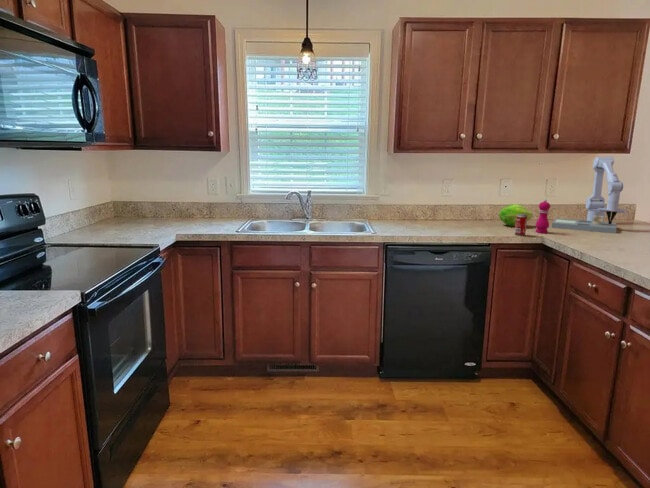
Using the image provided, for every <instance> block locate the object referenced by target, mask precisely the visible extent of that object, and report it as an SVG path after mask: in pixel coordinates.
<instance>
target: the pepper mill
mask: <svg viewBox="0 0 650 488" xmlns="http://www.w3.org/2000/svg"><path fill="white" fill-rule="evenodd" d="M538 208H539V211H538V213H539V217H538V218H537V221H536V222H535V228H536V229H535V233H536V232H537V234H548V228H549V227H550V222H549V219H548V214H549V209H551V204H550V203H549V202H548V201H547V199H543V201H542V202H540V203H539V204H538Z"/></svg>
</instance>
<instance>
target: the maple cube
mask: <svg viewBox="0 0 650 488" xmlns="http://www.w3.org/2000/svg"><path fill="white" fill-rule="evenodd" d="M602 222H603V216H596V215H594V217H593V224H595V225H602Z"/></svg>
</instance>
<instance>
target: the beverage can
mask: <svg viewBox="0 0 650 488" xmlns="http://www.w3.org/2000/svg"><path fill="white" fill-rule="evenodd" d="M527 223H528V221H527V216H526V215H525V214H517V216H516V223H515V226H514V235H515V236H517V235H518V236H519V237H525V235H526V233H527V232H526V231H527Z"/></svg>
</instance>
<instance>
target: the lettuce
mask: <svg viewBox="0 0 650 488" xmlns="http://www.w3.org/2000/svg"><path fill="white" fill-rule="evenodd" d="M517 214H525V215H526V216H527V222H529V220H531V219H532V218H533V217H534V213H533V212H532V211H531V210H529V209H527V208H526V207H525V206H523V205H520V204H517V203H513V204H510V205H506V206H505V207H502V209H501V210H500V211H499V214H498V217H499V219H500V221H502V223H504V224H505V225H507V226H508V227H515V223H516V216H517Z"/></svg>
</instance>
